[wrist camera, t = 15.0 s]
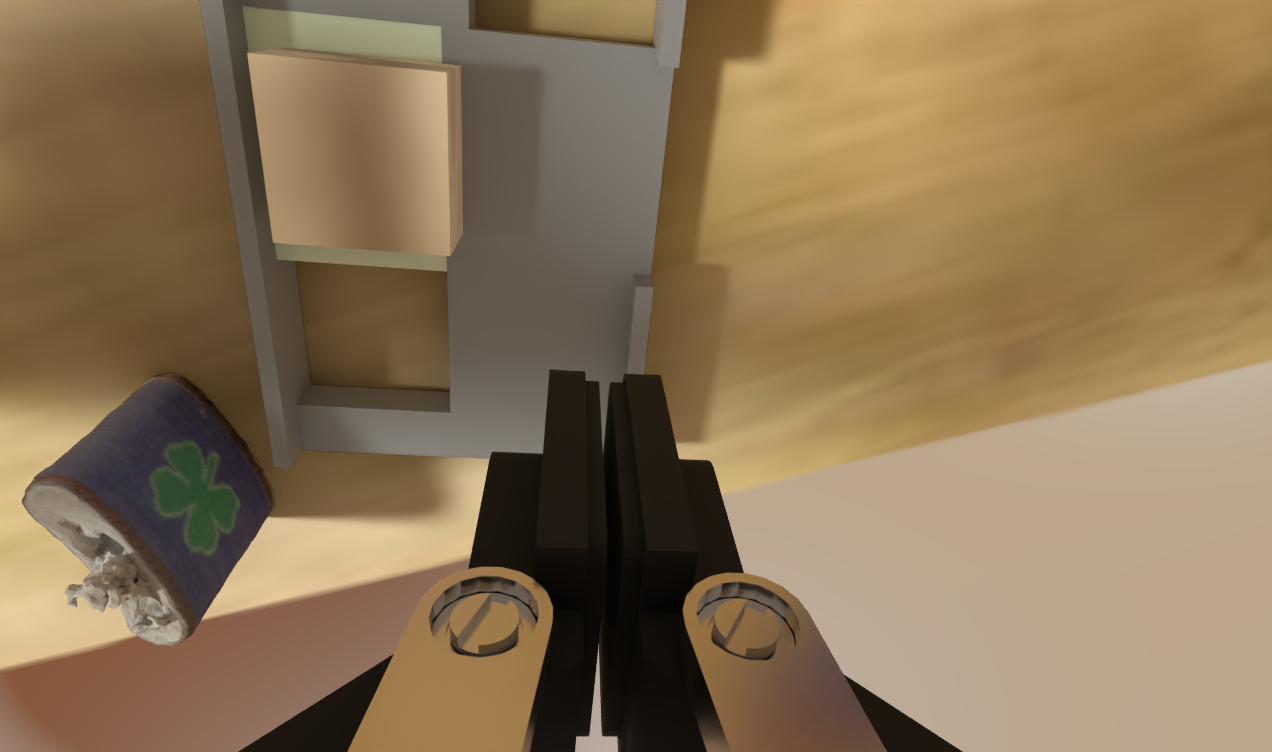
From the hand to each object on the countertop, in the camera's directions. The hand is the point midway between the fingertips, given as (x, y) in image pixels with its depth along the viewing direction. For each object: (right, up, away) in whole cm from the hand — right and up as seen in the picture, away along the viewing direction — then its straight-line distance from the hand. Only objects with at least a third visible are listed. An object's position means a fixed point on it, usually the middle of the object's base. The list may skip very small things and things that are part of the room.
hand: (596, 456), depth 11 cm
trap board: (-7, +10, +20) cm, 23 cm away
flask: (-21, -2, +26) cm, 33 cm away
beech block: (-9, +10, +17) cm, 22 cm away
